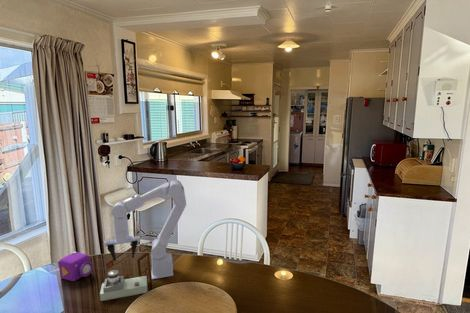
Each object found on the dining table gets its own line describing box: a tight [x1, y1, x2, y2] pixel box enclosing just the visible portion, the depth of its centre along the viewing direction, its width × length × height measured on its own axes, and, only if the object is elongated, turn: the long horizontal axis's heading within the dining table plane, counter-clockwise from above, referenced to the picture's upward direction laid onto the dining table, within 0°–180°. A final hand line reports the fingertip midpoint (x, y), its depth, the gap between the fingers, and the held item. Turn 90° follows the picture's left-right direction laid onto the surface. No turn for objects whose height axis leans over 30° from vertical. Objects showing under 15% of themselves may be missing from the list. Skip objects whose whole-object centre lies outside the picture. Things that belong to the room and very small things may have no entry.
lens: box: [107, 269, 120, 286], centre depth 125 cm, size 4×4×6 cm
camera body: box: [99, 275, 148, 302], centre depth 127 cm, size 18×8×5 cm, turn 107°
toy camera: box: [58, 251, 93, 282], centre depth 139 cm, size 11×14×10 cm
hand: (124, 258), depth 136 cm, fingers open, 7 cm apart
